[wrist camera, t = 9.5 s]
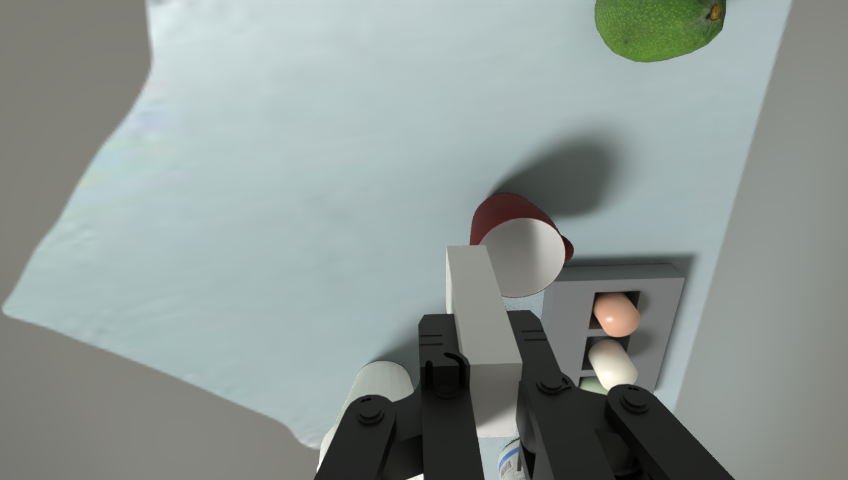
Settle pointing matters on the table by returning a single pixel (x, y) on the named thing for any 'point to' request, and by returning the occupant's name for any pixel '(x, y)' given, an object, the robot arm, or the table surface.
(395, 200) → the table surface
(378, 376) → the cup
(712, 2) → the fruit
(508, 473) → the supplement tub
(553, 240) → the mug
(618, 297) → the button terracotta
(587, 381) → the button sage
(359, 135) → the table surface
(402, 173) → the table surface
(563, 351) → the button panel
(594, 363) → the button cream
